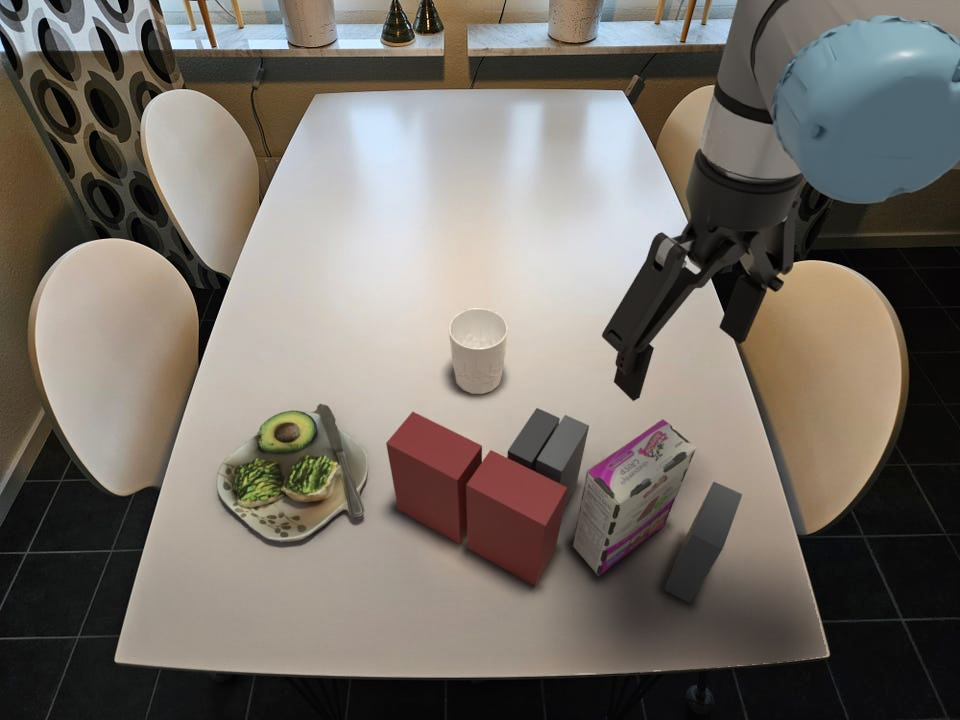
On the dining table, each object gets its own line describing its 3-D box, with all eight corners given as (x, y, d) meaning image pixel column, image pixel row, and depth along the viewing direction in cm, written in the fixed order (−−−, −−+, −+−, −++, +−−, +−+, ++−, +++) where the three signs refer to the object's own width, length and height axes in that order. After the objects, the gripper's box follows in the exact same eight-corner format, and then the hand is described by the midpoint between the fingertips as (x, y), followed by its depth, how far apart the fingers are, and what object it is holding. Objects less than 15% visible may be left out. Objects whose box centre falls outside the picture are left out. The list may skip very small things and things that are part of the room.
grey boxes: (689, 603, 71) (722, 549, 62) (504, 506, 79) (507, 445, 70) (708, 552, 75) (742, 494, 66) (530, 464, 83) (537, 401, 74)
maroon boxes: (535, 586, 73) (545, 526, 62) (397, 509, 79) (385, 443, 69) (555, 550, 75) (567, 487, 65) (420, 479, 82) (412, 411, 72)
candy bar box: (635, 496, 80) (663, 415, 68) (665, 525, 78) (700, 447, 66) (568, 545, 76) (585, 468, 64) (597, 578, 73) (621, 505, 61)
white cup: (514, 368, 95) (517, 319, 87) (489, 405, 90) (491, 357, 83) (467, 350, 97) (466, 300, 90) (441, 385, 92) (437, 336, 85)
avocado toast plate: (411, 478, 82) (408, 458, 79) (298, 581, 73) (290, 563, 69) (313, 400, 90) (307, 379, 87) (201, 483, 81) (189, 463, 78)
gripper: (822, 95, 52) (743, 292, 68) (578, 183, 43) (551, 388, 59) (906, 134, 48) (801, 335, 64) (655, 241, 39) (604, 445, 55)
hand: (681, 361), depth 61 cm, fingers open, 13 cm apart
